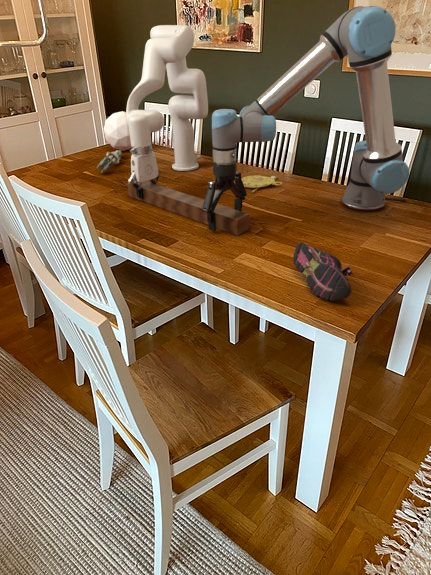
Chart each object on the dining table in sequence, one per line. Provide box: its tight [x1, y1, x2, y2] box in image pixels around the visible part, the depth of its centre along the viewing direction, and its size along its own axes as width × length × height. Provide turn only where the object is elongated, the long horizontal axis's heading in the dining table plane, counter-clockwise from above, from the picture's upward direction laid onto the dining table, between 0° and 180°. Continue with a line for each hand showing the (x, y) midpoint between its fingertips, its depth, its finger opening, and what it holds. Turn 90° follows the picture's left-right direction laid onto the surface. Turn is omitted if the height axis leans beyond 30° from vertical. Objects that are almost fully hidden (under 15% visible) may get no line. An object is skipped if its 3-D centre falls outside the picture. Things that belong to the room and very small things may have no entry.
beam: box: [126, 180, 250, 236], centre depth 163 cm, size 57×6×6 cm, turn 48°
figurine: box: [96, 149, 123, 174], centre depth 213 cm, size 7×8×30 cm
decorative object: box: [241, 174, 283, 193], centre depth 186 cm, size 21×2×20 cm
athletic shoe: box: [292, 242, 355, 301], centre depth 117 cm, size 11×22×12 cm
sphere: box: [103, 110, 132, 152], centre depth 233 cm, size 19×20×20 cm
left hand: (147, 195), depth 175 cm, fingers closed on beam, 6 cm apart
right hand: (225, 223), depth 152 cm, fingers open, 13 cm apart
